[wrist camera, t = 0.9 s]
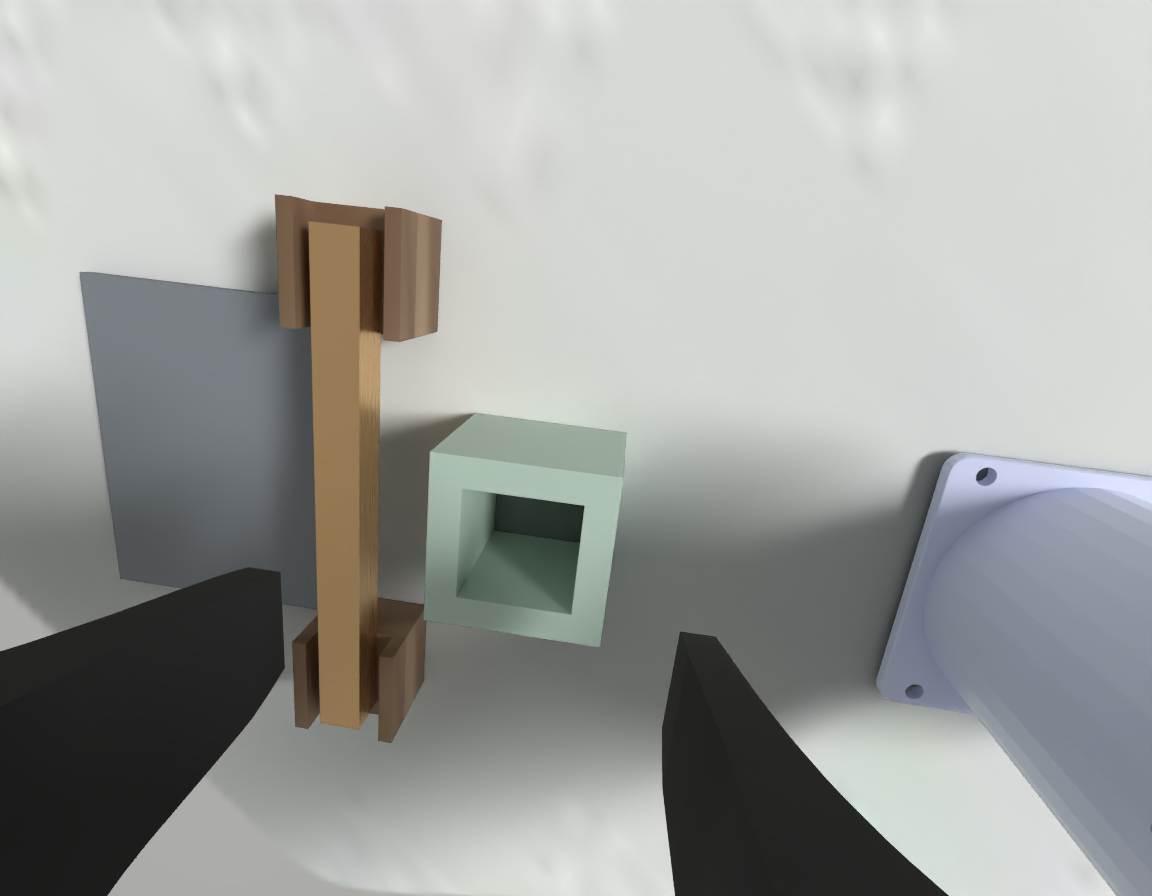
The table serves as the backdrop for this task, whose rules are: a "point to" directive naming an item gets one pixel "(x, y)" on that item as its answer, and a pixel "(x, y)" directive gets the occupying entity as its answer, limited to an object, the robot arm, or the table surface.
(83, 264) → the table surface
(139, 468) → the slate mat
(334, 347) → the copper bar
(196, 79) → the table surface
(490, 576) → the hollow green cube
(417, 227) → the bar stand
